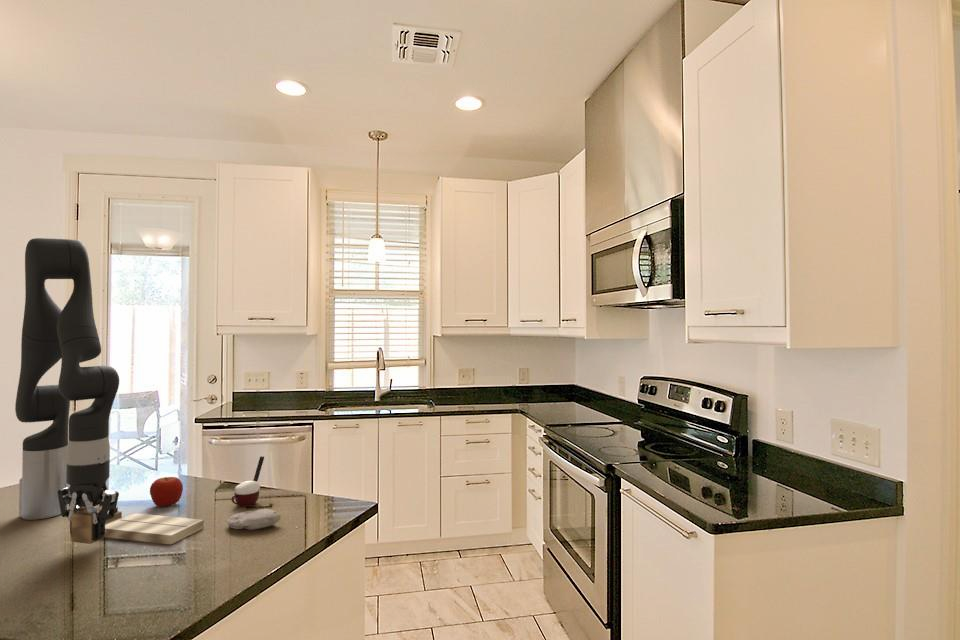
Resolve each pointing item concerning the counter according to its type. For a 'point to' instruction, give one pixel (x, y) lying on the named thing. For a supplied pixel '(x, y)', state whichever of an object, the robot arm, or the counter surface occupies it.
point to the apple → (166, 491)
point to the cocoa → (248, 489)
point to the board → (153, 528)
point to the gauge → (86, 525)
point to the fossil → (253, 519)
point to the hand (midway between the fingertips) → (87, 537)
